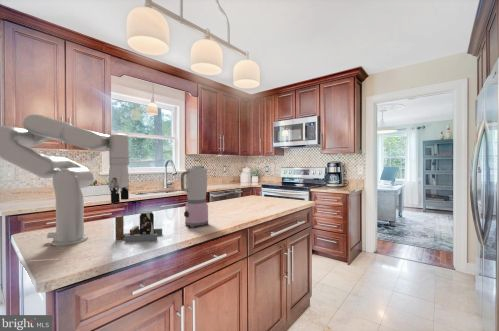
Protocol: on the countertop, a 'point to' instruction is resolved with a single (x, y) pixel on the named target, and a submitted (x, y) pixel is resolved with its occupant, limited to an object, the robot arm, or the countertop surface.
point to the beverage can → (146, 223)
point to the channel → (143, 236)
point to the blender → (195, 196)
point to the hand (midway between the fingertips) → (120, 201)
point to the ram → (120, 228)
